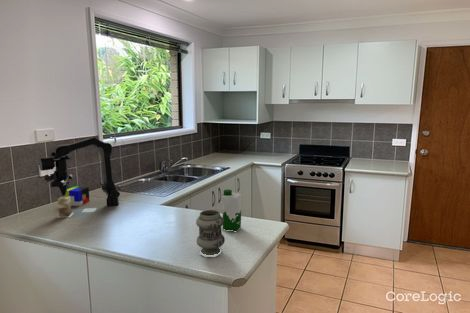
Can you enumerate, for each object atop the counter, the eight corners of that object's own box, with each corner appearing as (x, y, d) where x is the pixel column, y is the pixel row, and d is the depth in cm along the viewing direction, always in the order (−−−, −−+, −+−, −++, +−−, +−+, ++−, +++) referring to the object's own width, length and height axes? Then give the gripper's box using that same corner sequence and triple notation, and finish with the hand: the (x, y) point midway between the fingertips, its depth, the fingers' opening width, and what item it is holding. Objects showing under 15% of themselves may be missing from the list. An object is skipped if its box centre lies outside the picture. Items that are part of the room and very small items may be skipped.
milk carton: (226, 224, 176) (226, 187, 173) (243, 227, 173) (243, 189, 170) (220, 231, 168) (219, 192, 165) (237, 233, 165) (237, 194, 161)
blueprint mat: (97, 208, 203) (97, 207, 203) (90, 217, 189) (90, 215, 188) (64, 210, 200) (64, 209, 200) (55, 218, 186) (55, 217, 186)
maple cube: (71, 205, 192) (70, 196, 191) (68, 207, 187) (67, 199, 186) (61, 205, 191) (60, 197, 190) (58, 208, 186) (57, 199, 186)
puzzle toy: (79, 207, 207) (78, 191, 205) (65, 206, 209) (64, 190, 207) (89, 202, 216) (88, 187, 215) (75, 201, 218) (74, 186, 217)
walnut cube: (71, 213, 193) (71, 205, 192) (68, 216, 188) (68, 207, 187) (62, 213, 192) (61, 205, 191) (59, 216, 187) (58, 208, 186)
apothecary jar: (203, 245, 151) (202, 206, 148) (228, 248, 148) (228, 209, 145) (192, 257, 140) (191, 215, 137) (219, 260, 136) (218, 218, 134)
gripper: (52, 165, 193) (54, 191, 196) (38, 172, 175) (41, 200, 178) (72, 164, 195) (74, 190, 198) (61, 171, 177) (64, 199, 180)
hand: (63, 195), depth 188 cm, fingers closed
